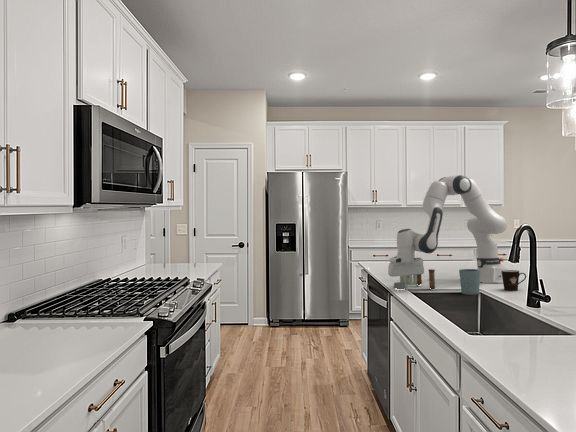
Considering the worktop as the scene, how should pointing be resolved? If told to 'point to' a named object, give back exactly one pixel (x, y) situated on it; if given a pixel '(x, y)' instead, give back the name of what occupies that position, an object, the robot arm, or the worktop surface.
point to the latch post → (431, 278)
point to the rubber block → (399, 285)
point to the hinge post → (419, 279)
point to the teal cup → (469, 281)
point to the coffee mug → (511, 279)
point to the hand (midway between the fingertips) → (406, 283)
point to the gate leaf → (414, 280)
